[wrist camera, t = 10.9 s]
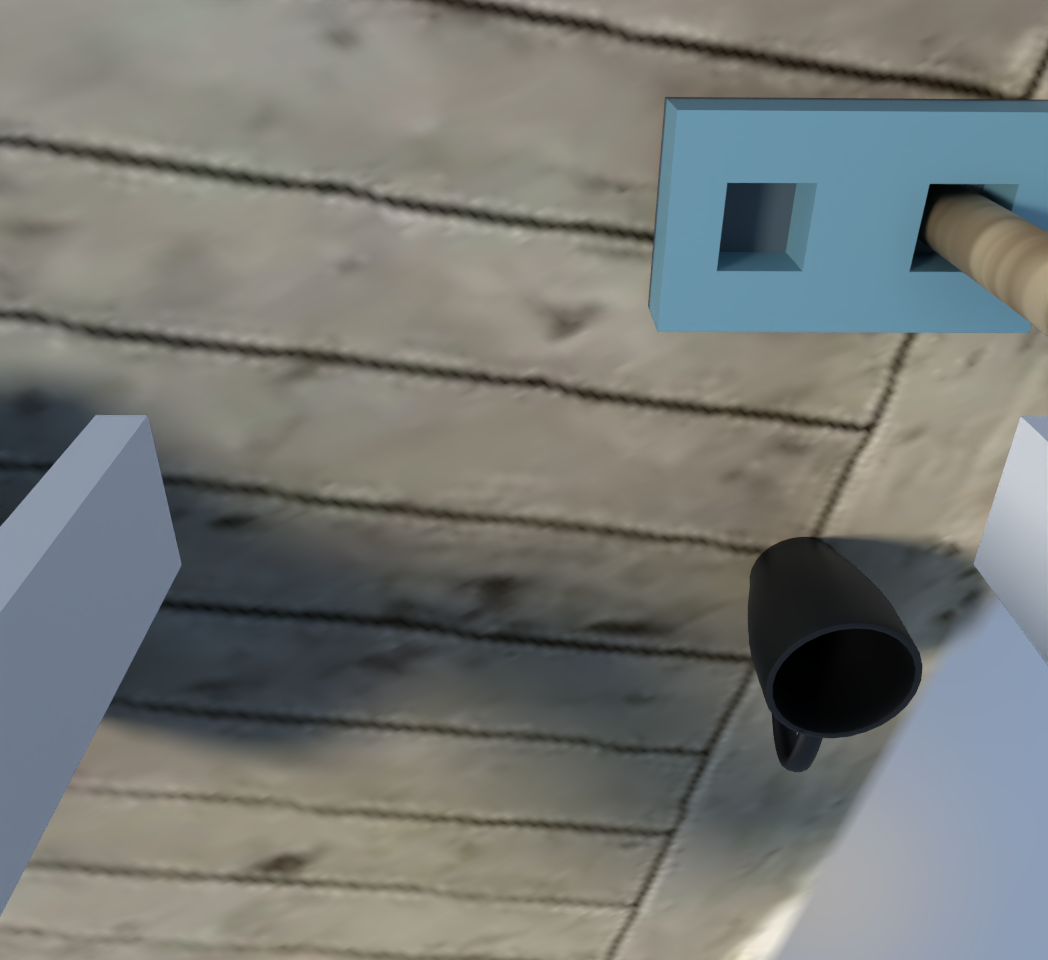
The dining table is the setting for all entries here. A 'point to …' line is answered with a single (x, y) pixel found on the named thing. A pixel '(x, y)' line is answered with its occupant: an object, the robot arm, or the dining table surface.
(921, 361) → the dining table surface
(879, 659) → the mug
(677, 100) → the bore slab
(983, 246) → the dowel
